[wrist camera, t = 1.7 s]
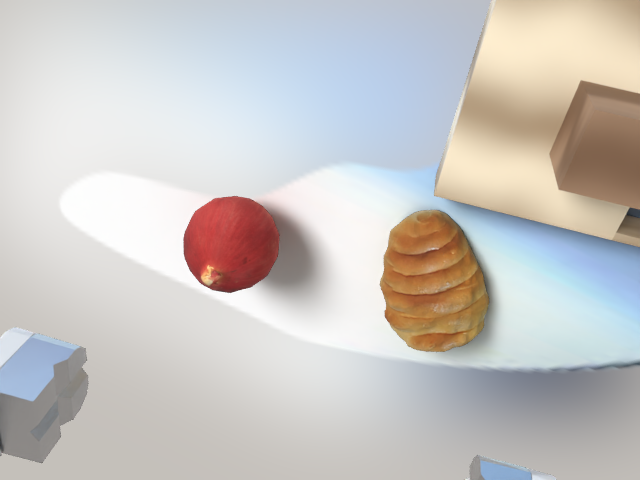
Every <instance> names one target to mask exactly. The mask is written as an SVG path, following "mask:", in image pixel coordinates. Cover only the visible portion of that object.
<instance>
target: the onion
mask: <svg viewBox="0 0 640 480" xmlns="http://www.w3.org/2000/svg"><path fill="white" fill-rule="evenodd" d="M278 250H279V233H278V230H277V228H276V225H275V223H274V220H273V218H272V216H271V215H270V214H269V213H268V212H267V210H266V209H265V208H264V207H263V206H261V205H260V204H258V203H256V202H255V201H253V200H251V199H249V198H243V197H238V196H232V197H223V198H215V199H213V200H212V201H210V202H209V203H207V204H205V205H204V206H202V207H201V208H199V209H198V210H197V211H195V213H194V214H193V216H192V218H191V220H190V222H189V224H188V227H187V229H186V231H185V234H184V257H185V260H186V262H187V265H188V267H189V269H190V271H191V272H192V274H193V275H194V276H195V277H196V279H197V280H198V281H199V282H200V283H201V284H203V285H204V286H206V287H208V288H210V289H212V290H215V291H221V292H227V293H232V292H235V291H238V290H242V289H246V288H250V287H252V286H253V285H255V284H256V283H258V282H259V281H261V280H262V279H264V278H265V277H266V276H267V275H268V273H269V272H270V270H271V268H272V266H273V264H274V262H275V261H276V259H277V257H278Z"/></svg>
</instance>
